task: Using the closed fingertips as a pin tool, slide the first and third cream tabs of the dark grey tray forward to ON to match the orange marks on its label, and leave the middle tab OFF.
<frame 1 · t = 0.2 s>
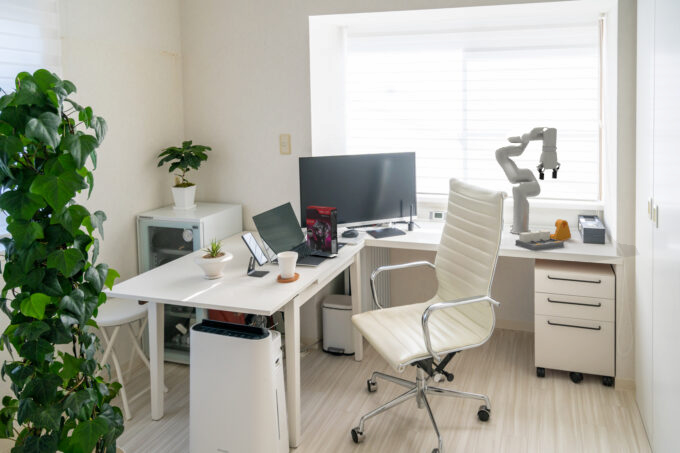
hand: (548, 179, 362), 36 cm above the table, tool pointing down, fingers open, 9 cm apart
graphics card box: (322, 256, 342), on the table
switch tab 1: (525, 237, 355), point 5 cm above the table, slide at 0.0 cm
switch tab 2: (534, 236, 357), point 5 cm above the table, slide at 0.0 cm
dark grey tray: (539, 245, 354), on the table
switch tab 3: (543, 235, 359), point 5 cm above the table, slide at 0.0 cm
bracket: (559, 239, 370), on the table
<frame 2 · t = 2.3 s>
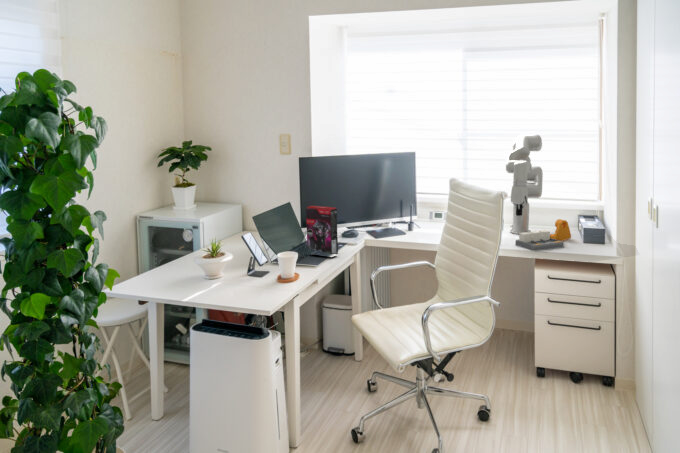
hand: (519, 215, 358), 17 cm above the table, tool pointing down, fingers closed
nothing on the table moved.
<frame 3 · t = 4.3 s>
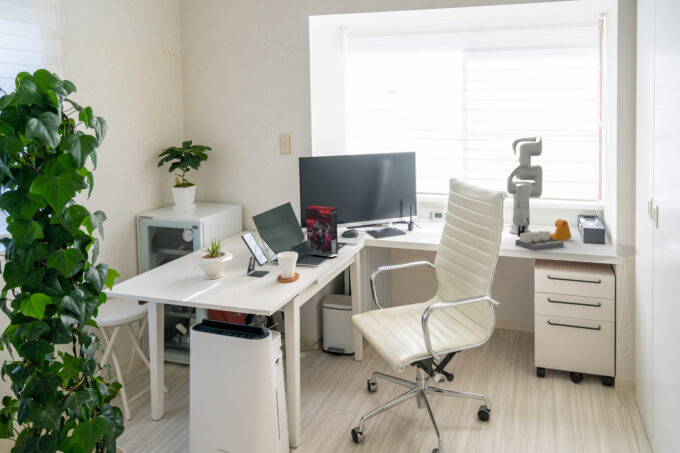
hand: (521, 236, 358), 5 cm above the table, tool pointing down, fingers closed
switch tab 1: (525, 237, 354), point 5 cm above the table, slide at 0.6 cm, touching gripper
everything else where it was.
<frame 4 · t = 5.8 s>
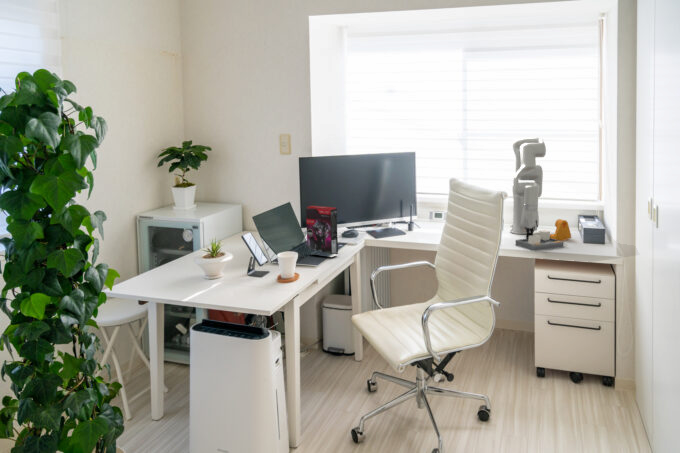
hand: (529, 239, 351), 4 cm above the table, tool pointing down, fingers closed
switch tab 1: (534, 240, 347), point 5 cm above the table, slide at 8.0 cm, touching gripper
everything else where it was.
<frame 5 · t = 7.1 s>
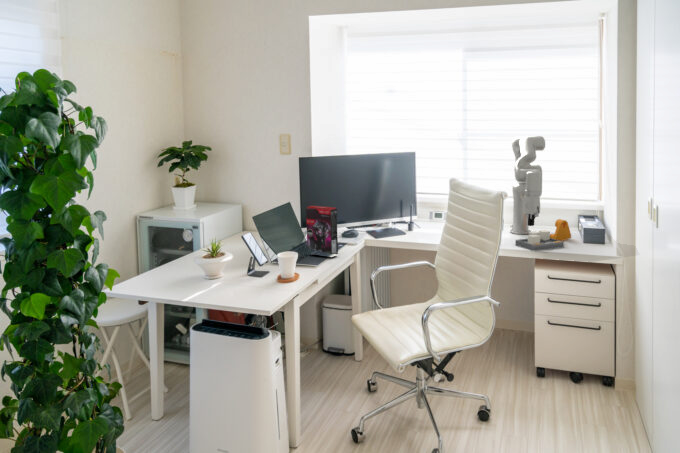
hand: (530, 225, 349), 12 cm above the table, tool pointing down, fingers closed
switch tab 1: (533, 240, 348), point 5 cm above the table, slide at 7.6 cm
everything else where it was.
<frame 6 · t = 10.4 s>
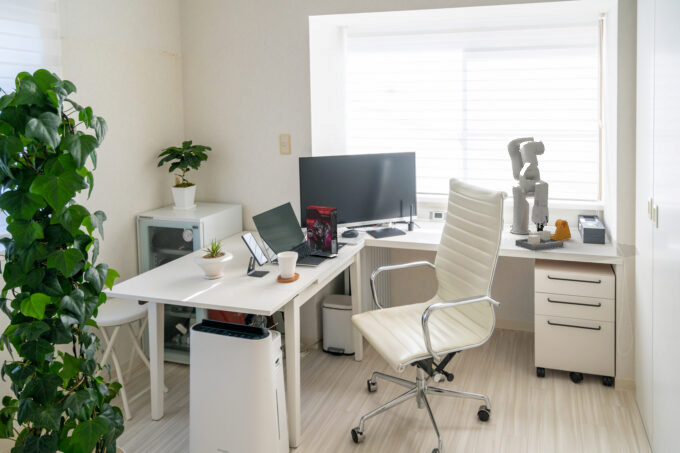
hand: (539, 234, 363), 5 cm above the table, tool pointing down, fingers closed
switch tab 3: (544, 235, 359), point 5 cm above the table, slide at 0.5 cm, touching gripper
everything else where it was.
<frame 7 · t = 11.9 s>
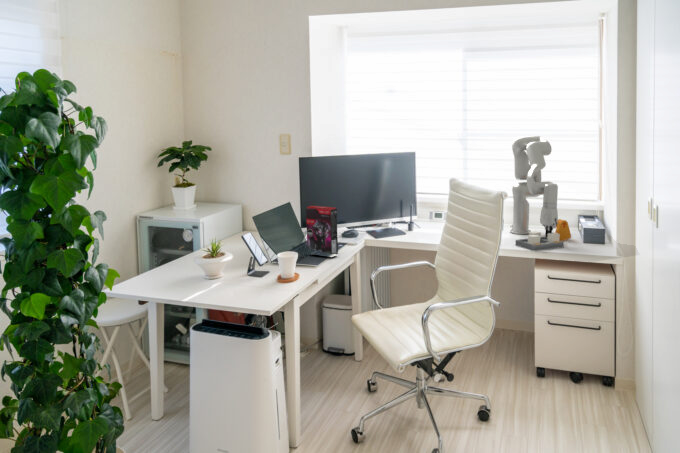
hand: (548, 236, 356), 5 cm above the table, tool pointing down, fingers closed
switch tab 3: (553, 237, 352), point 5 cm above the table, slide at 8.0 cm, touching gripper
everything else where it was.
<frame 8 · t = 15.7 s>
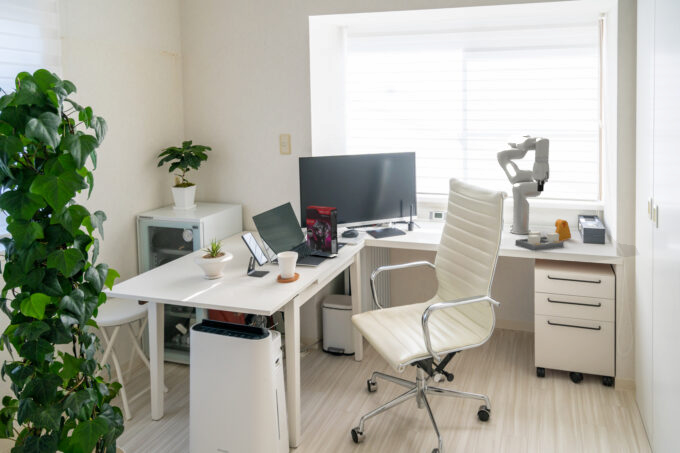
hand: (540, 191, 364), 29 cm above the table, tool pointing down, fingers closed
switch tab 3: (552, 237, 352), point 5 cm above the table, slide at 7.6 cm
everything else where it was.
at the end: switch tab 1 slide at 7.6 cm; switch tab 3 slide at 7.6 cm; switch tab 2 slide at 0.0 cm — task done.
